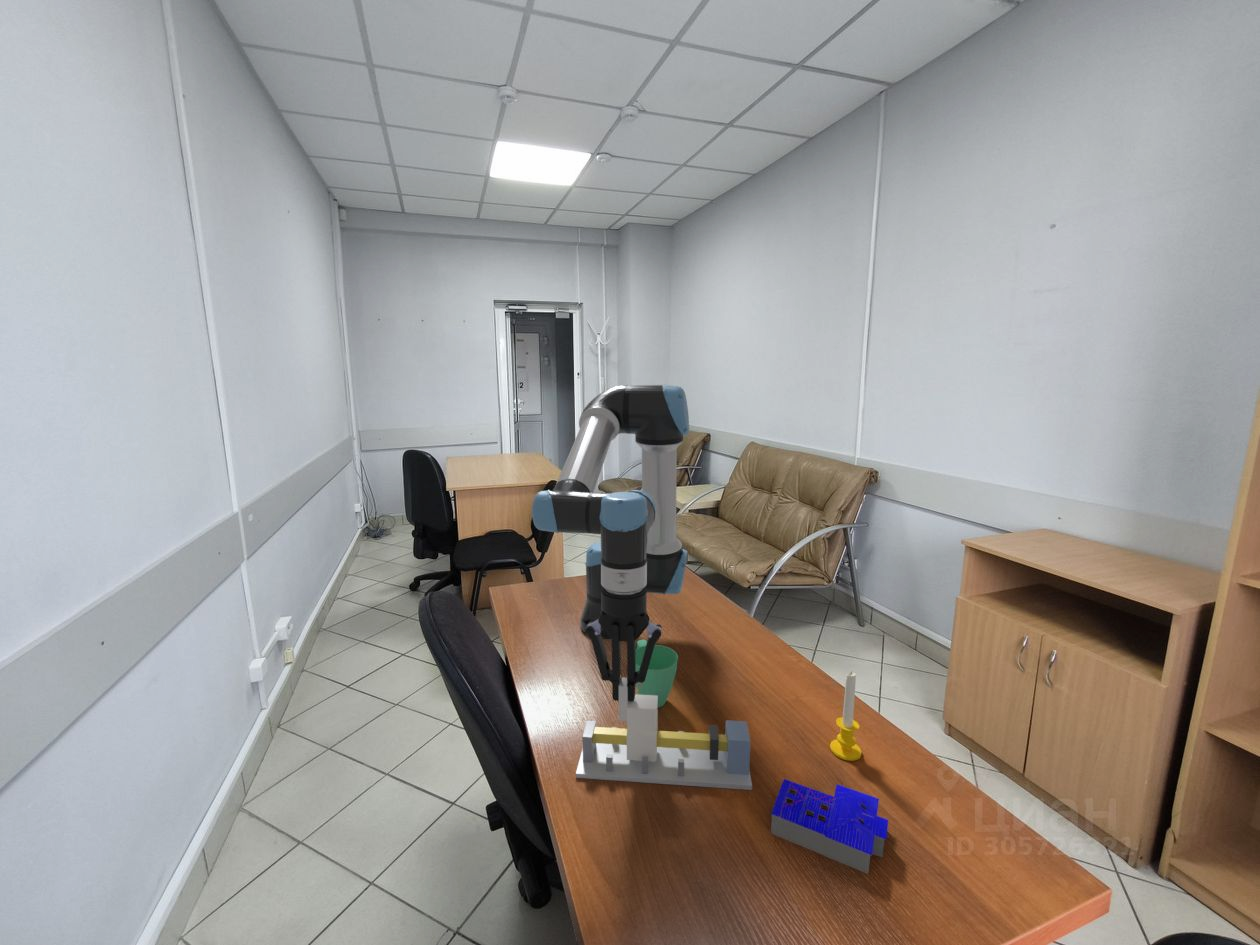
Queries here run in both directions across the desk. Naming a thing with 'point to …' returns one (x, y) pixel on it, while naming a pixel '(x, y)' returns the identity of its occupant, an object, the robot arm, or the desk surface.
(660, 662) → the mug
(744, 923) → the desk surface
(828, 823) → the house
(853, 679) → the candle
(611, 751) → the comb rig
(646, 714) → the sleeve
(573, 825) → the desk surface
